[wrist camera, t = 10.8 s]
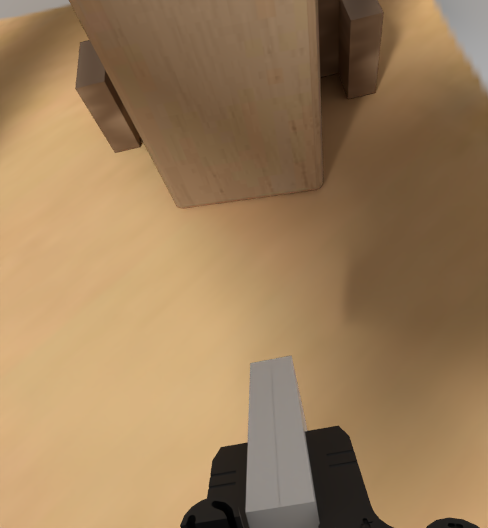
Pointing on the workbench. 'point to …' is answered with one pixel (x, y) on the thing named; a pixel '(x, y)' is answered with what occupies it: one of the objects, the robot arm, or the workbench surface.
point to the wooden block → (217, 91)
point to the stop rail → (331, 62)
